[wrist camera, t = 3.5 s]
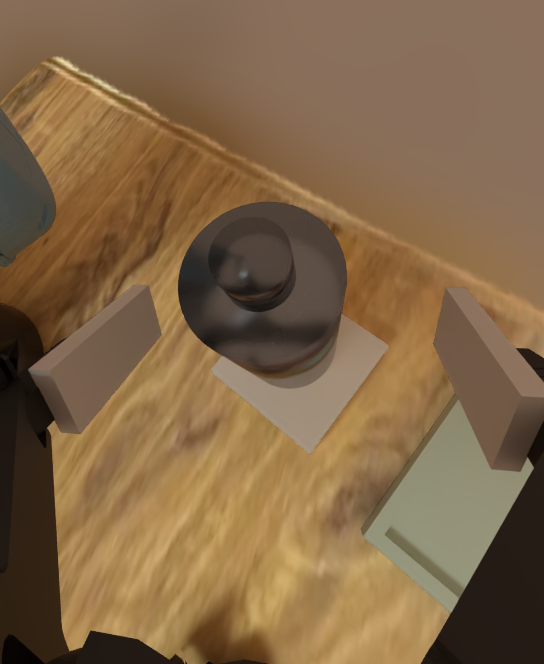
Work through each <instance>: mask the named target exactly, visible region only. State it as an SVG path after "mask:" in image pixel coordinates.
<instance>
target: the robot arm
mask: <svg viewBox="0 0 544 664" xmlns="http://www.w3.org/2000/svg"><path fill="white" fill-rule="evenodd" d="M55 216H56V203H55V199H54V195H53V192H52V189H51V187H50V185H49V183H48V180H47V178H46V176H45V175H44V173H43V171H42V169H41V167H40V166H39V164H38V162H37V161H36V159H35V157H34V156H33V154H32V152H31V151H30V149H29V148H28V146H27V145H26V143H25V142H24V140H23V139H22V137H21V136H20V134H19V133H18V131H17V130H16V128H15V127H14V126H13V124H12V123H11V121H10V120H9V118H8V117H7V116H6V114H5V113H4V112H3V110H2V109H1V108H0V267H7V266H9V265H10V264H12V262H13V261H14V260H15V256H16V255H17V254H18V253H20V252H21V251H22V250H23V249H25V248H26V247H27V246H29V245H30V244H31V243H33V242H34V241H35V240H37V239H38V238H39V237H41V236H42V235H43V234H44V233H46V232H47V231H48V230H49V229H50V227H51V226H52V224H53V222H54V220H55ZM161 335H162V334H161V330H160V326H159V323H158V319H157V315H156V311H155V307H154V303H153V300H152V296H151V292H150V288H149V285H133V286H132V287H131V288H129V289H128V290H127V291H126V292H124V293H123V294H122V295H121V296H119V297H118V298H117V299H116V300H114V301H113V302H112V303H111V304H109V305H108V306H107V307H106V308H104V309H103V310H102V311H101V312H99V313H98V314H97V315H96V316H94V317H93V318H92V319H91V320H89V321H88V322H87V323H86V324H84V325H83V326H82V327H81V328H79V329H78V330H77V331H76V332H74V333H73V334H72V335H71V336H69V337H67V338H65V339H63V340H61V341H60V342H59V343H57V344H56V345H55V346H54V347H52V348H51V350H48V351H47V352H46V353H45V354H43V348H42V343H41V340H40V337H39V334H38V332H37V330H36V328H35V327H34V325H33V323H32V322H31V321H30V320H29V319H28V318H27V317H26V316H25V315H24V314H23V313H22V312H20V311H19V310H17V309H15V308H13V307H11V306H8V305H5V304H2V303H0V664H175V663H174V662H172V661H171V660H169V659H167V658H166V657H164V656H163V655H161V654H160V653H158V652H157V651H155V650H154V649H152V648H151V647H149V646H147V645H146V644H144V643H143V642H141V641H140V640H138V639H133V638H128V637H123V636H117V635H112V634H107V633H101V632H96V631H90V633H89V635H88V637H87V639H86V641H85V643H84V645H83V648H79V649H76V650H73V651H70V652H69V649H68V646H67V644H66V641H65V638H64V635H63V630H62V623H61V605H60V587H59V569H58V551H57V533H56V516H55V498H54V480H53V462H52V444H51V434H50V432H49V430H48V429H47V427H48V426H49V425H50V424H51V423H52V422H53V421H54V420H55V422H56V424H57V426H58V428H59V429H60V431H61V432H63V433H74V434H81V433H82V432H83V430H84V429H85V428H86V427H87V426H88V424H89V423H90V422H91V421H92V419H93V418H94V417H95V416H96V415H97V413H98V412H99V411H100V410H101V408H102V407H103V406H104V405H105V404H106V402H107V401H108V400H109V399H110V398H111V396H112V395H113V394H114V393H115V391H116V390H117V389H118V388H119V387H120V385H121V384H122V383H123V382H124V380H125V379H126V378H127V377H128V376H129V374H130V373H131V372H132V371H133V369H134V368H135V367H136V366H137V365H138V363H139V362H140V361H141V360H142V358H143V357H144V356H145V355H146V354H147V352H148V351H149V350H150V349H151V347H152V346H153V345H154V344H155V343H156V341H157V340H158V339H159V338H160V336H161ZM433 344H434V347H435V349H436V351H437V353H438V355H439V357H440V360H441V362H442V364H443V366H444V368H445V370H446V373H447V375H448V377H449V379H450V381H451V384H452V386H453V388H454V390H455V392H456V394H457V397H458V399H459V401H460V403H461V405H462V407H463V410H464V412H465V414H466V416H467V418H468V420H469V423H470V425H471V427H472V429H473V431H474V433H475V436H476V438H477V440H478V442H479V444H480V447H481V449H482V451H483V453H484V455H485V457H486V460H487V462H488V464H489V466H490V468H491V469H492V470H503V471H515V472H521V470H522V468H523V466H524V464H525V462H526V460H527V458H528V459H529V460H530V462H531V464H532V466H533V467H534V468H533V470H532V472H531V474H530V475H529V477H528V479H527V481H526V483H525V484H524V486H523V488H522V490H521V491H520V493H519V495H518V497H517V498H516V500H515V502H514V504H513V505H512V507H511V509H510V511H509V512H508V514H507V516H506V518H505V519H504V521H503V523H502V525H501V526H500V528H499V530H498V532H497V533H496V535H495V537H494V539H493V540H492V542H491V544H490V546H489V547H488V549H487V551H486V553H485V554H484V556H483V558H482V560H481V561H480V563H479V565H478V567H477V568H476V570H475V572H474V574H473V575H472V577H471V579H470V581H469V582H468V584H467V586H466V588H465V590H464V591H463V593H462V595H461V597H460V598H459V600H458V602H457V604H456V605H455V607H454V609H453V611H452V612H451V614H450V616H449V618H448V619H447V621H446V623H445V625H444V626H443V628H442V630H441V632H440V633H439V635H438V637H437V638H436V640H435V642H434V643H433V645H432V646H431V647H430V649H429V651H428V652H427V654H426V655H425V657H424V659H423V661H422V662H421V664H544V358H543V357H541V356H540V355H538V354H536V353H535V352H533V351H531V350H530V349H524V348H515V347H514V346H513V344H512V343H511V342H510V341H509V340H508V338H507V337H506V336H505V335H504V333H503V332H502V331H501V330H500V329H499V327H498V326H497V325H496V324H495V323H494V321H493V320H492V319H491V318H490V316H489V315H488V314H487V313H486V312H485V310H484V309H483V308H482V307H481V306H480V304H479V303H478V302H477V301H476V299H475V298H474V297H473V296H472V295H471V293H470V292H469V291H468V290H467V288H446V289H445V293H444V298H443V302H442V307H441V311H440V316H439V320H438V325H437V329H436V334H435V338H434V343H433ZM221 664H266V663H261V662H256V661H250V660H239V661H233V662H227V663H221Z"/></svg>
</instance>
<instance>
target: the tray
mask: <svg viewBox="0 0 544 664" xmlns="http://www.w3.org/2000/svg"><path fill="white" fill-rule="evenodd" d="M533 468H534V467H533V466H532V464H531V462H530V460H529V459H528V458H527V460H526V462H525V464H524V466H523V468H522V470H521V472H515V471H503V470H492V469H491V468H490V466H489V464H488V462H487V460H486V457H485V455H484V453H483V451H482V449H481V447H480V444H479V442H478V440H477V438H476V436H475V433H474V431H473V429H472V427H471V425H470V423H469V420H468V418H467V416H466V414H465V412H464V410H463V407H462V405H461V403H460V401H459V399H458V397H457V394H456V393H455V395H454V396H453V398H452V399H451V401H450V402H449V403H448V405H447V406H446V408H445V409H444V411H443V412H442V414H441V415H440V416H439V418H438V419H437V421H436V422H435V424H434V425H433V426H432V428H431V429H430V431H429V432H428V434H427V435H426V436H425V438H424V439H423V441H422V442H421V444H420V445H419V446H418V448H417V449H416V451H415V452H414V454H413V455H412V457H411V458H410V459H409V461H408V462H407V464H406V465H405V467H404V468H403V469H402V471H401V472H400V474H399V475H398V477H397V478H396V479H395V481H394V482H393V484H392V485H391V487H390V488H389V489H388V491H387V492H386V494H385V495H384V497H383V498H382V499H381V501H380V502H379V504H378V505H377V507H376V508H375V510H374V511H373V512H372V514H371V515H370V517H369V518H368V520H367V521H366V522H365V524H364V525H363V527H362V528H361V531H362V534H363V537H364V538H365V539H367V540H368V541H369V542H370V543H371V544H372V545H374V546H375V547H376V548H377V549H378V550H379V551H380V552H382V553H383V554H384V555H385V556H386V557H387V558H389V559H390V560H391V561H392V562H393V563H394V564H395V565H397V566H398V567H399V568H400V569H401V570H402V571H404V572H405V573H406V574H407V575H408V576H409V577H410V578H412V579H413V580H414V581H415V582H416V583H417V584H419V585H420V586H421V587H422V588H423V589H424V590H425V591H427V592H428V593H429V594H430V595H431V596H432V597H434V598H435V599H436V600H437V601H438V602H439V603H440V604H442V605H443V606H444V607H445V608H446V609H447V610H449V611H450V612H452V611H453V609H454V607H455V605H456V604H457V602H458V600H459V598H460V597H461V595H462V593H463V591H464V590H465V588H466V586H467V584H468V582H469V581H470V579H471V577H472V575H473V574H474V572H475V570H476V568H477V567H478V565H479V563H480V561H481V560H482V558H483V556H484V554H485V553H486V551H487V549H488V547H489V546H490V544H491V542H492V540H493V539H494V537H495V535H496V533H497V532H498V530H499V528H500V526H501V525H502V523H503V521H504V519H505V518H506V516H507V514H508V512H509V511H510V509H511V507H512V505H513V504H514V502H515V500H516V498H517V497H518V495H519V493H520V491H521V490H522V488H523V486H524V484H525V483H526V481H527V479H528V477H529V475H530V474H531V472H532V470H533Z"/></svg>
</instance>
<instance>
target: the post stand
mask: <svg viewBox="0 0 544 664" xmlns="http://www.w3.org/2000/svg"><path fill="white" fill-rule="evenodd" d="M388 348H389V345H388V344H386V343H385V342H383V341H382V340H380V339H379V338H377V337H376V336H374V335H373V334H371V333H370V332H369V331H367V330H366V329H364V328H363V327H361V326H360V325H358V324H357V323H355V322H354V321H352V320H351V319H349V318H348V317H346V316H345V315H343V314H341V320H340V326H339V332H338V338H337V344H336V350H335V355H334V358H333V361H332V363H331V365H330V366H329V368H328V369H327V371H326V372H325V373H324V374H323V375H322V376H321V377H320V378H319V379H317V380H316V381H315V382H313V383H311V384H309V385H307V386H304V387H300V388H294V389H285V388H279V387H275V386H273V385H270V384H268V383H266V382H265V381H263V380H261V379H260V378H258V377H256V376H255V375H253V374H252V373H250V372H248V371H247V370H245V369H243V368H242V367H240V366H238V365H237V364H235V363H234V362H232V361H230V360H229V359H227V358H225V357H224V356H221V358H220V359H219V360H218V361H217V363H216V364H215V365H214V366H213V368H212V369H211V370H210V372H212V373H213V374H214V375H215V376H216V377H218V378H219V379H220V380H221V381H222V382H224V383H225V384H226V385H227V386H228V387H230V388H231V389H232V390H233V391H234V392H236V393H237V394H238V395H239V396H240V397H242V398H243V399H244V400H245V401H246V402H248V403H249V404H250V405H251V406H252V407H254V408H255V409H256V410H257V411H258V412H260V413H261V414H262V415H263V416H264V417H266V418H267V419H268V420H269V421H270V422H272V423H273V424H274V425H275V426H276V427H278V428H279V429H280V430H281V431H283V432H284V433H285V434H286V435H287V436H289V437H290V438H291V439H292V440H293V441H295V442H296V443H297V444H298V445H299V446H301V447H302V448H303V449H304V450H305V451H307V452H308V453H309V454H311V452H312V451H313V450H314V448H315V447H316V446H317V444H318V443H319V441H320V440H321V439H322V437H323V436H324V435H325V433H326V432H327V431H328V429H329V428H330V426H331V425H332V424H333V422H334V421H335V420H336V418H337V417H338V416H339V414H340V413H341V412H342V410H343V409H344V407H345V406H346V405H347V403H348V402H349V401H350V399H351V398H352V397H353V395H354V394H355V393H356V391H357V390H358V388H359V387H360V386H361V384H362V383H363V382H364V380H365V379H366V378H367V376H368V375H369V374H370V372H371V371H372V369H373V368H374V367H375V365H376V364H377V363H378V361H379V360H380V359H381V357H382V356H383V354H384V353H385V352H386V350H387V349H388Z"/></svg>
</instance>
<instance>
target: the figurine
mask: <svg viewBox="0 0 544 664" xmlns="http://www.w3.org/2000/svg"><path fill="white" fill-rule="evenodd" d="M170 660H171V661H172V662H174V663H175V664H184V662H183V660H181V658H180V657H178V656H177V655H176V654H175V655H174V656H173V657H172V658H171V659H170ZM185 664H187V663H186V661H185ZM206 664H212V663H211V662H208V663H206Z"/></svg>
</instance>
